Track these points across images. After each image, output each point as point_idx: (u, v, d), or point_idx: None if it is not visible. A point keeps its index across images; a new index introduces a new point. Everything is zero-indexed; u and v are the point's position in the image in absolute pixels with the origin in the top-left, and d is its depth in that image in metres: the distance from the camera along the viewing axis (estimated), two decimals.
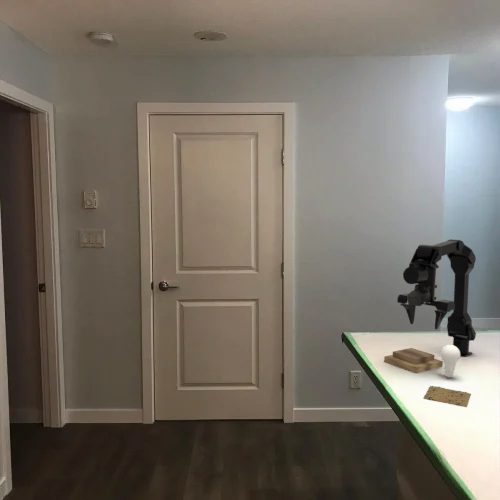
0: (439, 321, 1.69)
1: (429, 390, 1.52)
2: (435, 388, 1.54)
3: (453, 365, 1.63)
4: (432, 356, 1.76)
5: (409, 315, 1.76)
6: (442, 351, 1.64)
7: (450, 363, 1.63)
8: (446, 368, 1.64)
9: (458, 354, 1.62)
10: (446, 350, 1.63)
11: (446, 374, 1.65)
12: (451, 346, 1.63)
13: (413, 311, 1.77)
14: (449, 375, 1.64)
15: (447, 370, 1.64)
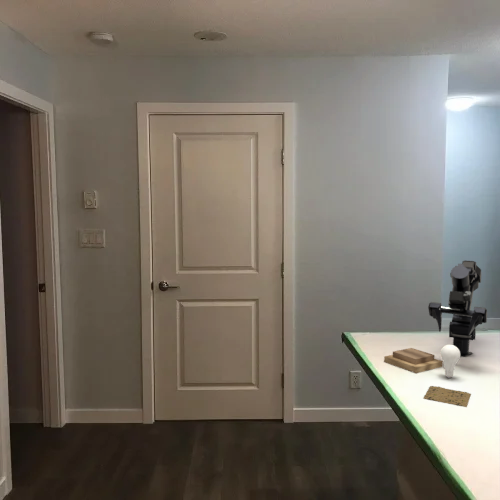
0: (473, 327, 1.70)
1: (429, 390, 1.52)
2: (435, 388, 1.54)
3: (453, 365, 1.63)
4: (432, 356, 1.76)
5: (439, 321, 1.74)
6: (442, 351, 1.64)
7: (450, 363, 1.63)
8: (446, 368, 1.64)
9: (458, 354, 1.62)
10: (446, 350, 1.63)
11: (446, 374, 1.65)
12: (451, 346, 1.63)
13: (441, 321, 1.76)
14: (449, 375, 1.64)
15: (447, 370, 1.64)
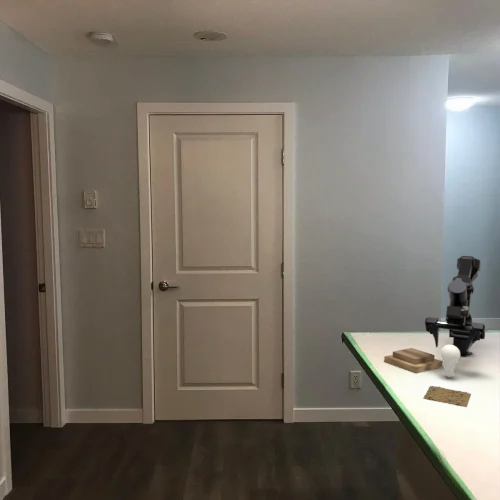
0: (470, 343, 1.65)
1: (429, 390, 1.52)
2: (435, 388, 1.54)
3: (453, 365, 1.63)
4: (432, 356, 1.76)
5: (436, 337, 1.69)
6: (442, 351, 1.64)
7: (450, 363, 1.63)
8: (446, 368, 1.64)
9: (458, 354, 1.62)
10: (446, 350, 1.63)
11: (446, 374, 1.65)
12: (451, 346, 1.63)
13: None
14: (449, 375, 1.64)
15: (447, 370, 1.64)
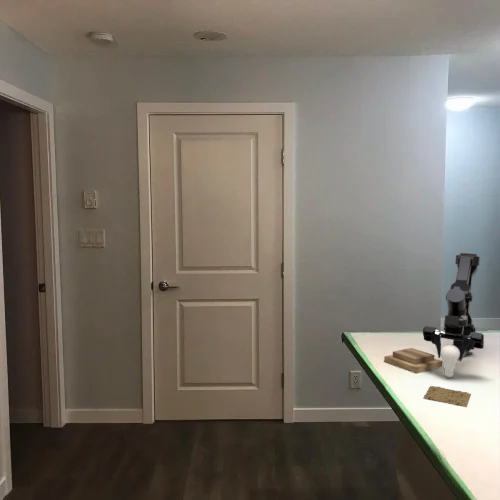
0: (464, 353, 1.63)
1: (429, 390, 1.52)
2: (435, 388, 1.54)
3: (453, 365, 1.63)
4: (432, 356, 1.76)
5: (438, 347, 1.66)
6: (442, 351, 1.64)
7: (450, 363, 1.63)
8: (446, 368, 1.64)
9: (458, 354, 1.62)
10: (446, 350, 1.63)
11: (446, 374, 1.65)
12: (451, 346, 1.63)
13: (440, 347, 1.68)
14: (449, 375, 1.64)
15: (447, 370, 1.64)
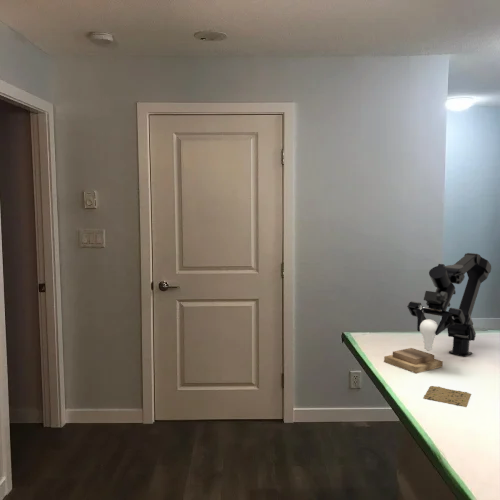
0: (442, 327, 1.69)
1: (429, 390, 1.52)
2: (435, 388, 1.54)
3: (430, 338, 1.70)
4: (432, 356, 1.76)
5: (419, 321, 1.74)
6: (420, 325, 1.72)
7: (427, 336, 1.70)
8: (424, 341, 1.72)
9: (435, 328, 1.69)
10: (423, 324, 1.70)
11: (425, 347, 1.72)
12: (429, 320, 1.70)
13: None
14: (427, 348, 1.71)
15: (425, 343, 1.71)
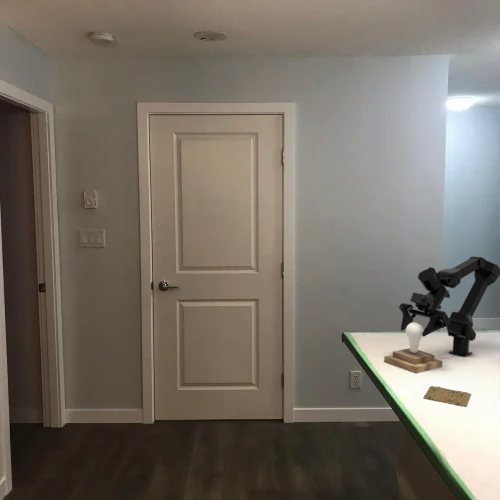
0: (429, 329, 1.73)
1: (429, 390, 1.52)
2: (435, 388, 1.54)
3: (415, 341, 1.76)
4: (432, 356, 1.76)
5: (403, 321, 1.81)
6: (406, 327, 1.78)
7: (411, 339, 1.76)
8: None
9: (418, 331, 1.75)
10: (408, 327, 1.77)
11: (410, 349, 1.78)
12: (414, 323, 1.76)
13: (408, 322, 1.83)
14: (412, 350, 1.77)
15: (410, 345, 1.77)
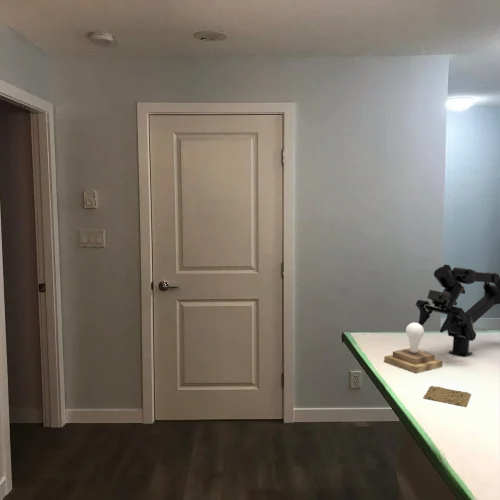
0: (446, 325, 1.78)
1: (429, 390, 1.53)
2: (435, 388, 1.54)
3: (415, 341, 1.76)
4: (432, 356, 1.76)
5: (420, 317, 1.86)
6: None
7: (411, 339, 1.76)
8: (410, 344, 1.78)
9: (418, 331, 1.74)
10: (408, 327, 1.77)
11: (410, 349, 1.78)
12: (414, 323, 1.76)
13: (425, 318, 1.87)
14: (412, 350, 1.77)
15: (410, 346, 1.77)
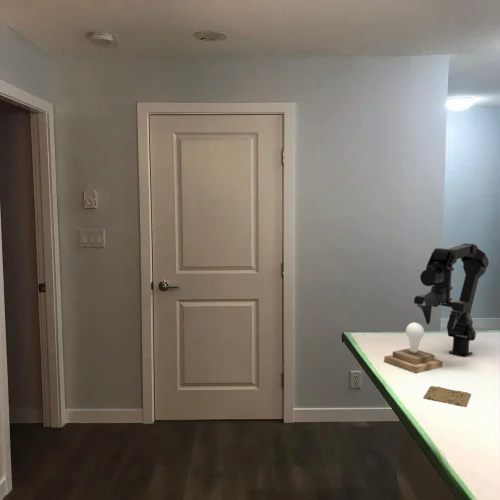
0: (455, 321, 1.76)
1: (429, 390, 1.53)
2: (435, 388, 1.54)
3: (415, 341, 1.76)
4: (432, 356, 1.76)
5: (425, 315, 1.84)
6: None
7: (411, 339, 1.76)
8: (410, 344, 1.78)
9: (418, 331, 1.74)
10: (408, 327, 1.77)
11: (410, 349, 1.78)
12: (414, 324, 1.76)
13: (429, 312, 1.85)
14: (412, 350, 1.77)
15: (410, 346, 1.77)
